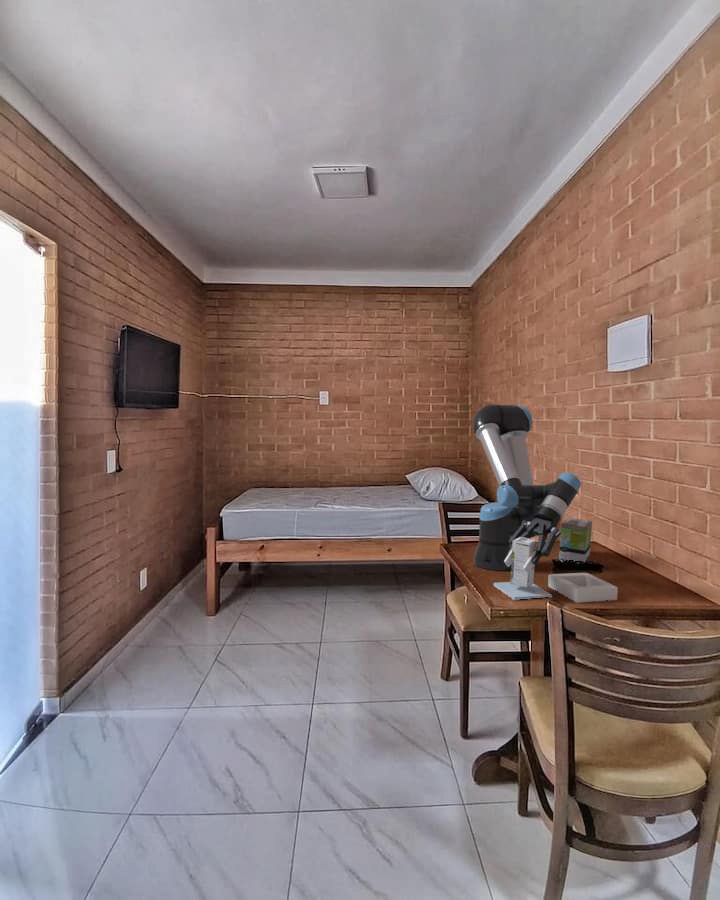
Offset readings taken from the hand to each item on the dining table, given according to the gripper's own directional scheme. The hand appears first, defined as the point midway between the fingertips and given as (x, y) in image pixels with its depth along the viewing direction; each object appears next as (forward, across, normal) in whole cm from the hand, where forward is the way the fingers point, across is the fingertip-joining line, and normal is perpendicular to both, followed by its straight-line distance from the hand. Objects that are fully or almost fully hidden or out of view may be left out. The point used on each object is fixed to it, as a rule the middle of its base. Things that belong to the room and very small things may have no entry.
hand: (515, 567), depth 154 cm
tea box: (-33, +16, -46) cm, 59 cm away
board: (+4, 0, -8) cm, 9 cm away
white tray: (-8, -10, -20) cm, 24 cm away
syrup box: (+2, 0, -7) cm, 7 cm away
